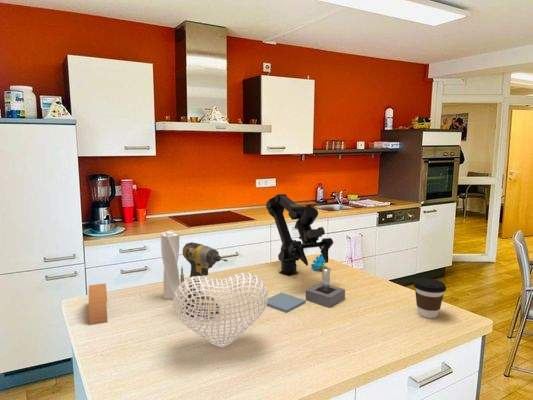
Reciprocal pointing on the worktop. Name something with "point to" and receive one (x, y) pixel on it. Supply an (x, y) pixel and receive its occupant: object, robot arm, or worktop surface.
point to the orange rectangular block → (97, 304)
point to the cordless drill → (200, 268)
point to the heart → (219, 282)
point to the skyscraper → (171, 263)
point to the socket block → (325, 295)
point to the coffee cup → (429, 296)
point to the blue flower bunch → (318, 263)
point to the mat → (284, 302)
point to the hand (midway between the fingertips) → (317, 263)
